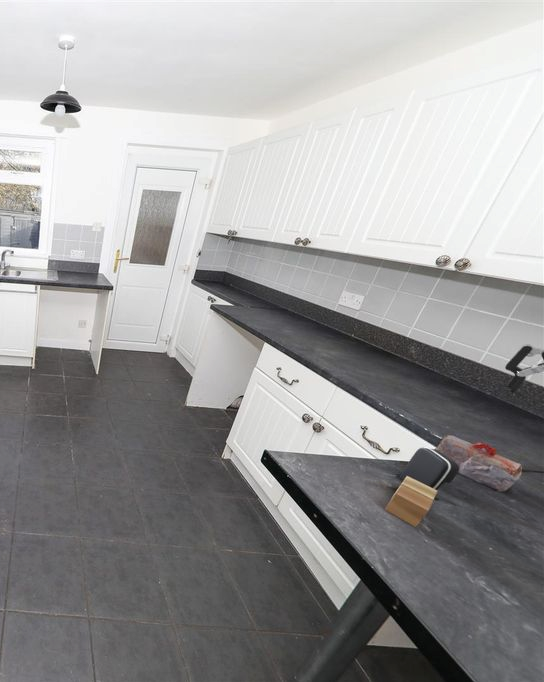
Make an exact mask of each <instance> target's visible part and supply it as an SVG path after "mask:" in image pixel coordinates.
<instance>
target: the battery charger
mask: <svg viewBox="0 0 544 682" xmlns="http://www.w3.org/2000/svg"><path fill="white" fill-rule="evenodd" d="M458 473H459V465H458V464H457V463H456V462H455V461H453V460H452V459H450V458H449V457H448V456H446V455H445V454H443V453H441V452H440V451H438V450H435V448H430V447H420V448H418V449H417V450H416V451H415V453H413V455H412V456H411V457H410V459H409V461H408V463H407V464H406V466H405V467H404V469H403V470H402V472H401V474H400V475H399V476H398V477H399V478H400V479H401V480H402V481H404V479H405V478H406V477H407V476H408V477H410V478H412V479H414V480H417V481H419V482H421V483H423V484H425V485H427V486H429V487H431V488H433V489H435V490H437V491H438V489H439V488H440V487H442V486H443V485H444V484H445V483H446V484H451V483H452V482H453V481H454V479H455V478H456V476H457V475H458Z"/></svg>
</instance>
